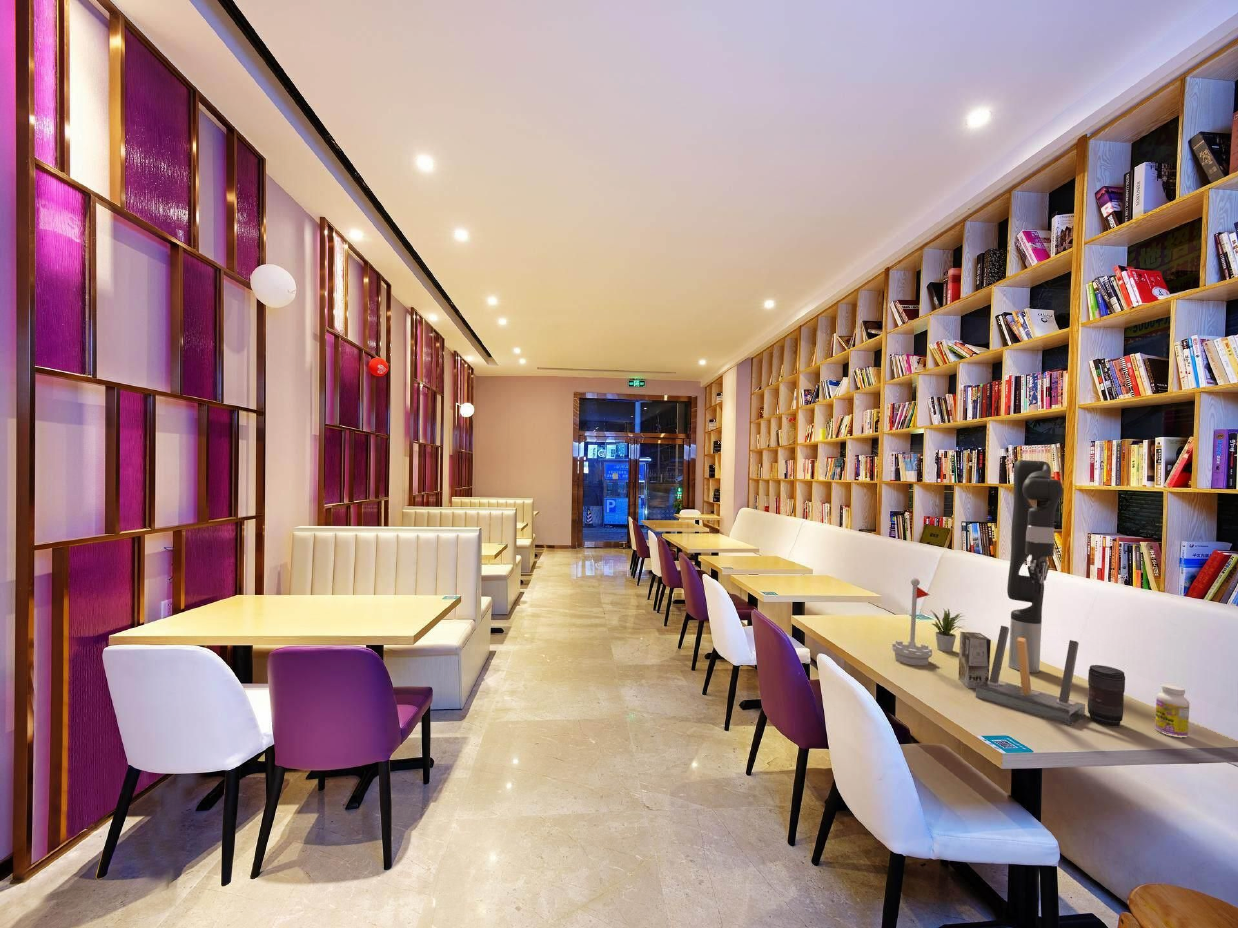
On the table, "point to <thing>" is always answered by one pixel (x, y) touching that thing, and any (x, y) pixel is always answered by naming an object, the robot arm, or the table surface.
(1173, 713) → the supplement bottle
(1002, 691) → the breaker panel
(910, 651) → the flag stand
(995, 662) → the lever low
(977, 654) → the coffee box
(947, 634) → the house plant
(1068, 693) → the lever high
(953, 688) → the table surface
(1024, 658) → the lever mid
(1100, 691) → the camera lens
